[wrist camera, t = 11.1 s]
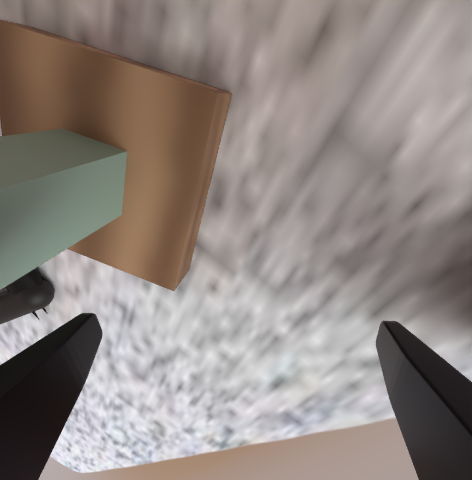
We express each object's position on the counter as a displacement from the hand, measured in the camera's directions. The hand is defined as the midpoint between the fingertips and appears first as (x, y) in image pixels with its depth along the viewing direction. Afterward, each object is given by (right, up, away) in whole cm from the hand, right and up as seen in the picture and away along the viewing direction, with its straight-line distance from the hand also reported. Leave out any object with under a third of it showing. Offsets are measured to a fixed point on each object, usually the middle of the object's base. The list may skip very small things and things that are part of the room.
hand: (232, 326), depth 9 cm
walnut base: (-9, +8, +13) cm, 17 cm away
